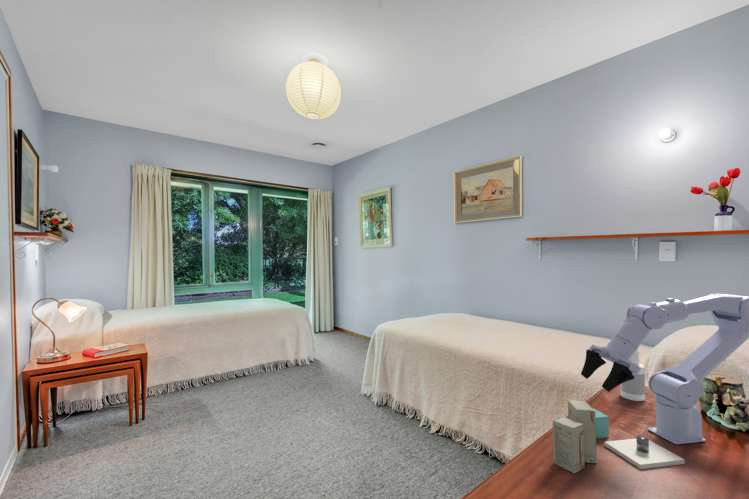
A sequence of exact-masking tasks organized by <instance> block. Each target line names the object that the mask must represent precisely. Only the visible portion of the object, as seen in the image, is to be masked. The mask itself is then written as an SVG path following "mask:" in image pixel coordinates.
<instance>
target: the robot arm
mask: <svg viewBox="0 0 749 499" xmlns="http://www.w3.org/2000/svg"><path fill="white" fill-rule="evenodd" d="M707 312H710V313H711V315H712V316H711V317H712V318H713V320H714V323H715V325H716V326H717V327H718V329H717V331H715V332H714V333H713V334H712V335H711V336H710V337H708V339H706V340H705V341H704V342H702V344H701V345H700V346H698V348H696V349H695V350H694V351H693V352H692V353H690V355H688V356H687V357H686V358H684V359H683V361H682V362H680V363H679V364H678V365H676V366H668V367H665V368H663V369H662V370H661V371H656V372H654V373H653V374H651V375H650V377H649V379H648V388H649V390H650V391H651V392H652V393H653V398H654V399H655V424H656V425H655V426H654V427H647V430H648V431H650V432H651V433H653V434H655V435H657V436H659V437H661V438H663V439H665V440H666V441H669V442H670V443H673V445H682V444H683V445H684V444H694V443H701V442H702V443H704V442H707V439H706V438H704V437H703V416H702V413H701V411H700V409H699V408H698V406H697V404H698V402H699V400H700V398H701V396H702V395H703V394H704V393H705V388H704V386H703V383H702V381H703V380H704V379H705V378H706V377H707V376H708V375H709V374H710V373H712V372H713V371H714V370H716V368H718V367H719V365H721V364H722V363H723V362H724V361H725V360H726V359H727V358H729V357H730V356H731V355H732V354H733V353H734V352H736V350H737V349H739V348H740V347H741V346H742V345H743V344H744V343H745V342H746V341H748V339H749V296H746V295H739V294H738V295H737V294H726V293H724V292H717V293H709V294H708V295H705V296H704V295H703V296H701V297H697V298H693V299H690V300H686V301H682V300H679V299H675V298H673V297H668V298H665V301H659V302H654V301H651V302H650V301H649V303H648V304H645V305H644V304H635V305H633V306H632V307H628V309H627V311H626V318H625V319H624V321H623V323H622V325H621V326H620V328H619V329H618V330H617V331H616V333H615V334H614V335H613V336H612V338H611V339H610V341H609V342H608V343H607V345H606V346H602V347H601V346H597V345H595V344H591V346H590V347H589V348H588V349H586V350H585V360H584V364H583V367H582V370H581V372H580V375H581V376H582V377H583V378H585V379H586V380H588V379H589V378H590V377H591V376H592V375H594V373H595V371H596V370H598V369H599V368H601V367H602V366H604V365H605V364H607V362H606V361H605V360H607V361H608V362H610V363H611V362H612V363H613V364H612V367H611V369H610V372H609V374H608V376H607V377H606V378H605V380H604V381H603V383H602V385H601V387H602V389H604V390H605V391H606V392H608V393H610V392H611V391H612V390H613V389H615V388H617V387H618V386H620V384H622V383H624V382H626V381H629V380H633V379H634V378H635V377H634V376H633V375H632V373H634V374H636V375H637V374H638V372H639V371H640V370H641V368H640V367H639V366H637V365H636V364H634V363H632V362H630V361H628V360H629V359H630V358H631V356H632V355H633V354H634V352H635V351H636V350H637V348H638V349H639V347H640V346H641V344H643V342H644V341H645V339H646V338H647V337H648V336H649V335H650V333H651V332H652V331H653V330H660V329H662V328H663V327H664V326H665V325H666V324H670V323H676V322H680V321H681V322H682V321H685V320H686V319H687V318H688V317H689V315H692V314H699V313H700V314H701V313H707ZM604 359H605V360H604Z"/></svg>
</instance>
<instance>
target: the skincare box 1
mask: <svg viewBox="0 0 749 499" xmlns="http://www.w3.org/2000/svg"><path fill="white" fill-rule="evenodd" d="M552 441H553V442H552V445H553V464H554V465H556V466H559V467H561V468H562V469H565V470H566V471H569V472H570V473H573V474H576V473H578V472H581V471H583V470H584V469H585V468H586V464H585V463H586V462H585V461H584V434H583V424H582V423H579V422H577V421H574V420H572V419H569V418H568V417H566V416H561V417H557V418H554V419H552Z"/></svg>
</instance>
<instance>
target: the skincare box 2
mask: <svg viewBox="0 0 749 499" xmlns="http://www.w3.org/2000/svg"><path fill="white" fill-rule="evenodd" d="M594 409H595V408H594ZM594 409H593V406H591V405H590V403H588V402H587V401H586V400H585V401H584V400H574V399H573V400H572V399H570V400H569V399H568V400H567V418H569V419H572V420H574V421H577V422H579V423H582V424H583V434H584V461H585V463H588V464H590V463H591V464H598V459H597V458H598V457H597V438H596V418H595V410H594Z"/></svg>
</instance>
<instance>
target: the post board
mask: <svg viewBox="0 0 749 499" xmlns="http://www.w3.org/2000/svg"><path fill="white" fill-rule="evenodd" d="M604 447H606V448H607V449H609V450H611V451H612V452H613V453H615V454H617V455H618V456H620V457H621V458H623V459H624V460H626V461H627V462H629V463H630V464H632V465H634V467H636V468H638V469H640V470H644V469H651V468H653V469H654V468H662V467H670V466H677V465H686V464H685V463H686V462H685V458H682V457H681V456H679V455H677V454H675V453H674V452H672V451H670V450H668V449H666V448H665V447H664V446H661V445H659V444H658V443H656V442H653V441H652V440H649V438H648V436H644V435H640V434H639V435H636V438H628V439H619V440H608V441H604Z"/></svg>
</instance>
